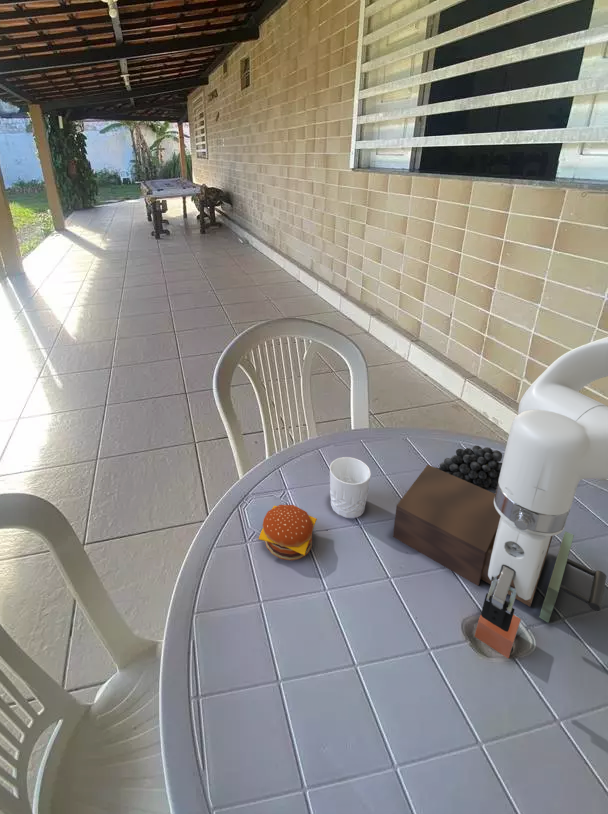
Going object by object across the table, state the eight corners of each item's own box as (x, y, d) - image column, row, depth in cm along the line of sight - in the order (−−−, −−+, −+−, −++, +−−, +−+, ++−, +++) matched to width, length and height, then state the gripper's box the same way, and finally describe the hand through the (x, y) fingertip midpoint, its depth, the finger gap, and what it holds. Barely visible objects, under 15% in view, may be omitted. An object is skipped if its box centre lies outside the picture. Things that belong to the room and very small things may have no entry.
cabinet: (501, 535, 80) (510, 500, 77) (477, 589, 70) (486, 552, 67) (422, 496, 90) (427, 464, 87) (392, 540, 80) (396, 505, 77)
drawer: (601, 582, 69) (613, 552, 67) (590, 646, 61) (602, 615, 58) (477, 522, 82) (483, 494, 79) (453, 568, 73) (458, 539, 71)
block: (515, 638, 63) (521, 618, 62) (507, 662, 60) (513, 642, 59) (482, 618, 66) (487, 599, 65) (473, 640, 63) (478, 620, 62)
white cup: (340, 488, 93) (342, 451, 90) (374, 507, 88) (378, 468, 84) (320, 509, 88) (321, 471, 84) (354, 530, 83) (357, 490, 79)
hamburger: (317, 530, 83) (318, 504, 81) (305, 572, 75) (306, 545, 73) (271, 516, 87) (271, 491, 85) (256, 555, 79) (255, 528, 76)
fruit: (438, 454, 88) (514, 453, 87) (423, 441, 97) (493, 439, 95) (439, 494, 89) (515, 494, 87) (424, 478, 97) (494, 477, 95)
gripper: (552, 566, 46) (520, 667, 52) (578, 481, 57) (549, 572, 63) (475, 528, 51) (454, 624, 57) (513, 456, 62) (492, 543, 68)
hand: (504, 596), depth 60 cm, fingers open, 9 cm apart
